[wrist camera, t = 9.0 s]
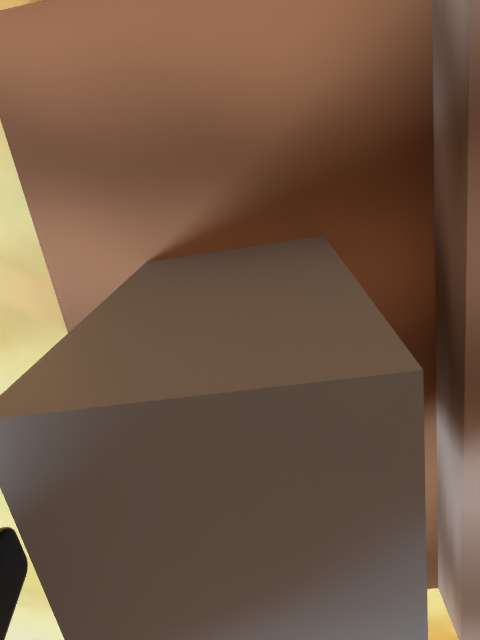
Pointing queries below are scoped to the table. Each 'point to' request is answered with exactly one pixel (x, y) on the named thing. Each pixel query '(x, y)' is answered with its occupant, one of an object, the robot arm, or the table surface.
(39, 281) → the table surface
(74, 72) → the shelf board
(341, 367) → the carton
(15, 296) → the table surface
